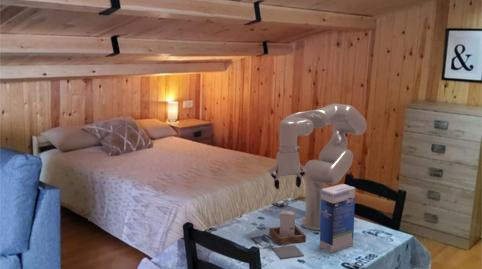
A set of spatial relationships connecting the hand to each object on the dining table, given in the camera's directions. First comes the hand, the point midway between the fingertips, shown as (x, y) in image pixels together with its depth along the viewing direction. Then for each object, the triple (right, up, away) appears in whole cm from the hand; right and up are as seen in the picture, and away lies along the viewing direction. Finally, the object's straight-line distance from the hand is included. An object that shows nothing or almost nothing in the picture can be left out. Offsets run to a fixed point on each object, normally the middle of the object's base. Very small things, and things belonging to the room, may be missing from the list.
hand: (287, 187), depth 210 cm
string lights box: (+20, -25, -4) cm, 32 cm away
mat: (-1, -26, -10) cm, 28 cm away
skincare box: (0, -23, +5) cm, 24 cm away
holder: (0, -23, +5) cm, 23 cm away
